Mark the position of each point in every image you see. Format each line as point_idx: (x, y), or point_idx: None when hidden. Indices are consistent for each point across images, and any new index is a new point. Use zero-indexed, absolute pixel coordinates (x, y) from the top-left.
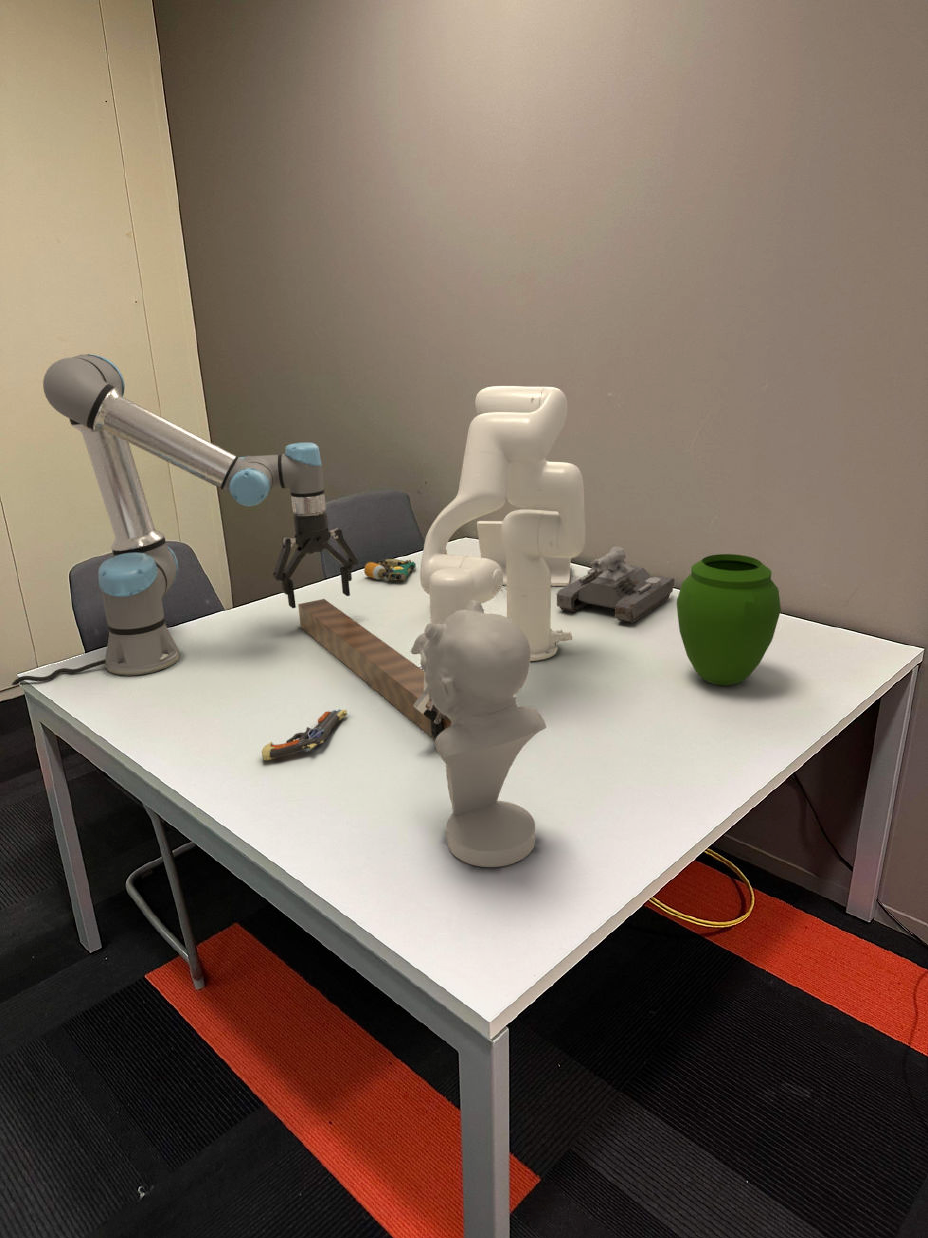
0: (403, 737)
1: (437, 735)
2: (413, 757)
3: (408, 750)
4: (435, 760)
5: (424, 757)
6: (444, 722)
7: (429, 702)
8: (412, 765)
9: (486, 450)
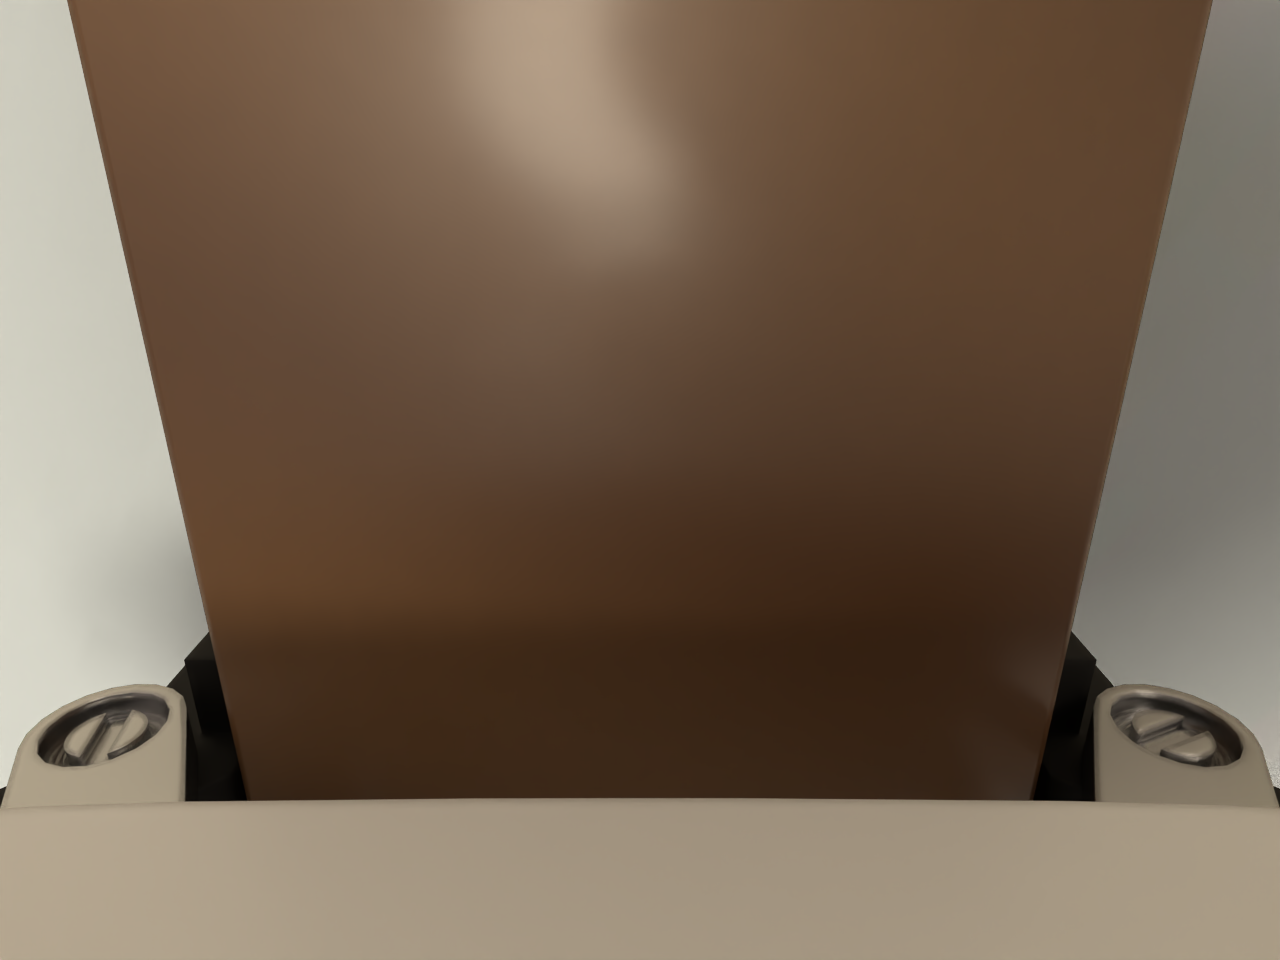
0: (44, 83)
1: None
2: (55, 598)
3: (34, 440)
4: None
5: (170, 654)
6: None
7: (256, 212)
8: (9, 717)
9: None
